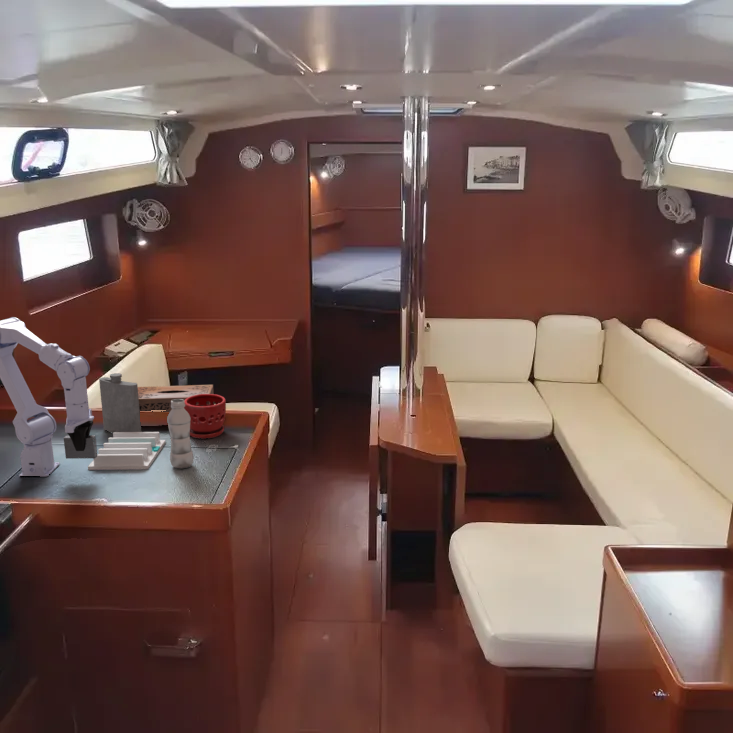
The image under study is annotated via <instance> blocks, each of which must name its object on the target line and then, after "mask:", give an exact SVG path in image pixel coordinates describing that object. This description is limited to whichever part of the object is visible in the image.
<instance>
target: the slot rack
mask: <svg viewBox="0 0 733 733" xmlns="http://www.w3.org/2000/svg"><path fill="white" fill-rule="evenodd" d="M160 437H161V436H160V432H159V431H141V432H114V433H113V434H112V437H108V438H107V440H108V441H107V442H104V443H103V448H98V449H97V452H98V453H97V457H96V458H92V459H93V460H92V461H91V462H90V463H89V465H88V466H87V470H88V471H97V470H98V471H100V470H101V471H102V470H103V471H104V470H105V471H106V470H108V471H109V470H117V471H118V470H149V468H150V467H151V465H152V464H153V462H154V461H155V460H156V458H157V456H158V454H160V452H161V451H162V449H163V448H164V446H165V444H166V439H161V438H160Z"/></svg>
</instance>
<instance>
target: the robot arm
mask: <svg viewBox="0 0 733 733" xmlns="http://www.w3.org/2000/svg"><path fill="white" fill-rule="evenodd" d="M18 344H19V345H21V346H22V347H24V348H26V349H28V350H30V351H32V352H34V353H35V354H36V355H37V354H38V360H39V361H40V362H42V363H43V364H45V365H46V366H48V368H50V369H52V370H54V371H55V372H56V374H57V377H58V379H59V380H60V382H61V386H62V388H63V393H64V401H65V411H66V422H65V425H64V431H65V434H67V435H69V436H70V438H71V440H72V442H73V445H74V447H75V450H76V451H84V449H85V436H86V435H90V433H91V430H92V426H93V425H94V419H95V416H94V415H93V411H92V408H90V407H89V397H88V388H87V376H88V375H89V374H90V370H91V367H90V364H89V362H88V360H87V359H86V358H84V356H82V355H77V356H75V355H72V354H71V353H69V352H67V351H65V350H64V349H62V348H61V347H60V346H59V344H57V343H46V342H45V341H43V340H42V339H41V338H39V337H38V336H37V335H35V334H34V333H33V332H32V331H30V330H29V329H28V328H27V327H26V324H25V322H24V321H22V320H21V319H19V318H17V317H15V316H11V317H9V318H5V319H2V320H0V381H1V383H2V384H3V386H4V388H5V390H6V392H7V394H8V396H9V398H10V400H11V402H12V405H13V406H14V409H15V410H16V412H17V413H16V415H15V417H14V419H13V420H12V424H13V426H14V429H15V430H14V431H15V435H16V438H17V439H18V440H19V441H20V442H21V444H23V446H24V447H23V448H22V451H21V453H20V456H19V457H20V464H21V465H20V466H21V473H20V474H18V476H19V477H20V476H40V477H49V476H50V475H51V474H52V473H53V472H54V470H56V468H57V467H58V466H59V465H61V463H60V462H59V461H57V462H55V458H54V449H53V448H54V447H53V441H52V438H53V437H54V433H55V432H56V431H57V422H56V419H55V417H54V416H52V415H51V414H50V413H49V411H48V409H47V408H46V407H45V406H42V405H40V404H37V401H36V400H35V398H34V395H33V394H32V393H31V392H32V391H31V390H30V388H29V386H28V384H27V382H26V380H25V378H24V376H23V374H22V371H21V370H20V368H19V366H18V364H17V362H16V360H15V358H14V356H13V352H14V349H15V348H16V347H17V346H18ZM49 474H50V475H49Z"/></svg>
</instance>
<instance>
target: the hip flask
mask: <svg viewBox="0 0 733 733" xmlns="http://www.w3.org/2000/svg"><path fill="white" fill-rule="evenodd" d="M122 377H123V376H122V373H120V372H118V373H112V374H109V377H106V376H104V377H100V378H99V379H98V382H99V392H100V393H99V394H100V402H101V409H102V410H101V413H102V423H103V424H102V425H103V430H104V431H105V430H107V431H109V432H112V433H114V432H142V427H141V422H140V410H139V398H138V387H139V386H138V383H137V382H133V381H124V380H122ZM107 431H106V432H107ZM109 432H108V433H109ZM112 433H111V434H112Z"/></svg>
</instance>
